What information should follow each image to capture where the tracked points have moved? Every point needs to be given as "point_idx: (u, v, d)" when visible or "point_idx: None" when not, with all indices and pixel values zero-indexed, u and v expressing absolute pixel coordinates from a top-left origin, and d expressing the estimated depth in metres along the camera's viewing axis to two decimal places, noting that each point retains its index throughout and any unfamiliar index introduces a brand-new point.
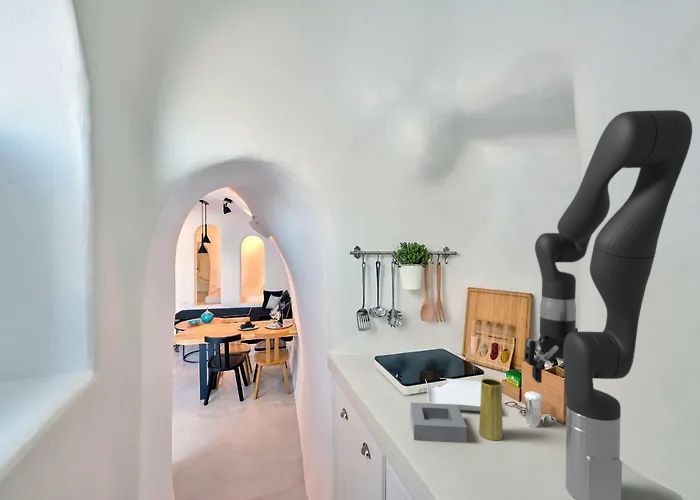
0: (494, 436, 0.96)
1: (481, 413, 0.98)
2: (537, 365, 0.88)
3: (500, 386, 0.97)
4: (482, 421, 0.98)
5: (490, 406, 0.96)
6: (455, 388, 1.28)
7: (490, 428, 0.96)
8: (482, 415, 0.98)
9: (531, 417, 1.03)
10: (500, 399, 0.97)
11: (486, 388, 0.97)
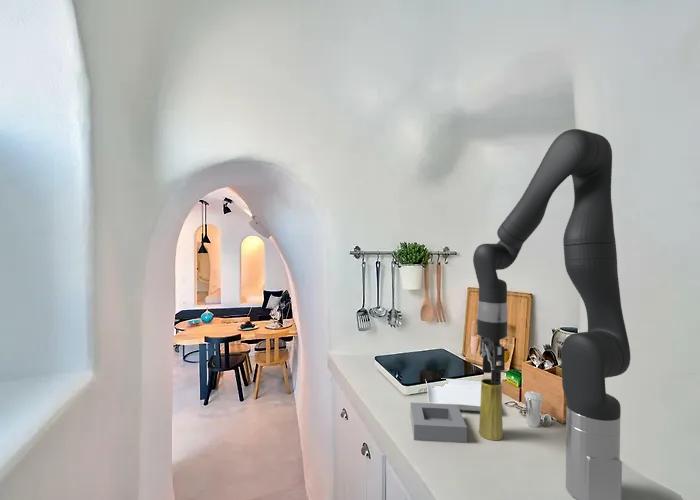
0: (494, 436, 0.96)
1: (481, 413, 0.98)
2: None
3: (500, 386, 0.97)
4: (482, 421, 0.98)
5: (490, 406, 0.96)
6: (455, 388, 1.28)
7: (490, 428, 0.96)
8: (482, 415, 0.98)
9: (531, 417, 1.03)
10: (500, 399, 0.97)
11: (486, 388, 0.97)
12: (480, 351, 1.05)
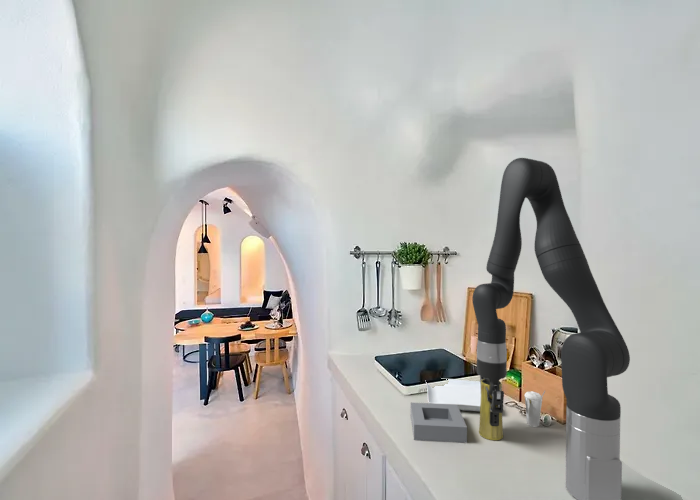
0: (494, 436, 0.96)
1: (481, 413, 0.98)
2: None
3: None
4: (482, 421, 0.98)
5: None
6: (455, 388, 1.28)
7: (490, 428, 0.96)
8: (482, 415, 0.98)
9: (531, 417, 1.03)
10: None
11: None
12: None
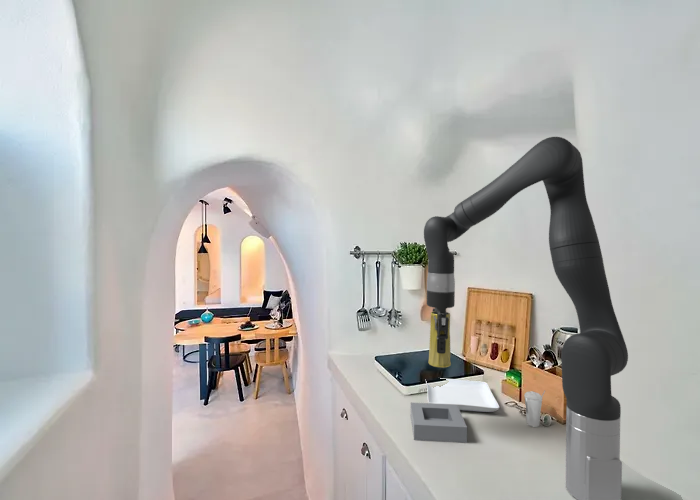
0: (441, 363, 0.99)
1: (430, 343, 1.02)
2: None
3: (448, 316, 1.00)
4: (431, 350, 1.01)
5: None
6: (455, 388, 1.28)
7: (437, 356, 0.99)
8: (431, 344, 1.01)
9: (531, 417, 1.03)
10: (448, 328, 1.00)
11: None
12: None
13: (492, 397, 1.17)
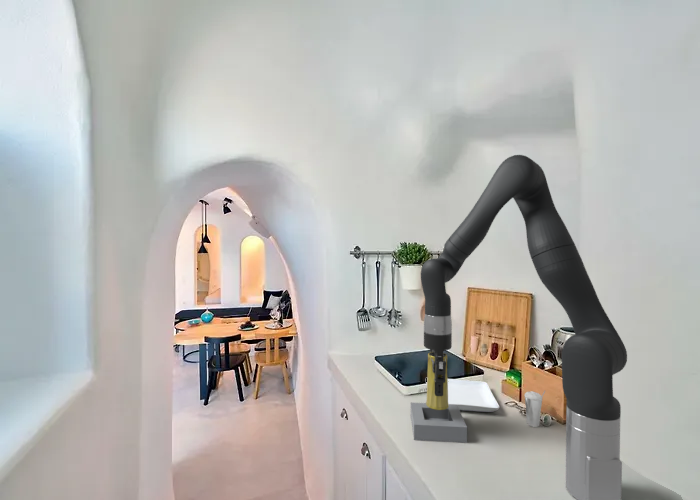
0: (439, 405, 0.99)
1: (428, 384, 1.02)
2: None
3: None
4: (428, 392, 1.01)
5: None
6: (455, 388, 1.28)
7: (435, 398, 0.99)
8: (428, 386, 1.01)
9: (531, 417, 1.03)
10: None
11: None
12: None
13: (492, 397, 1.17)
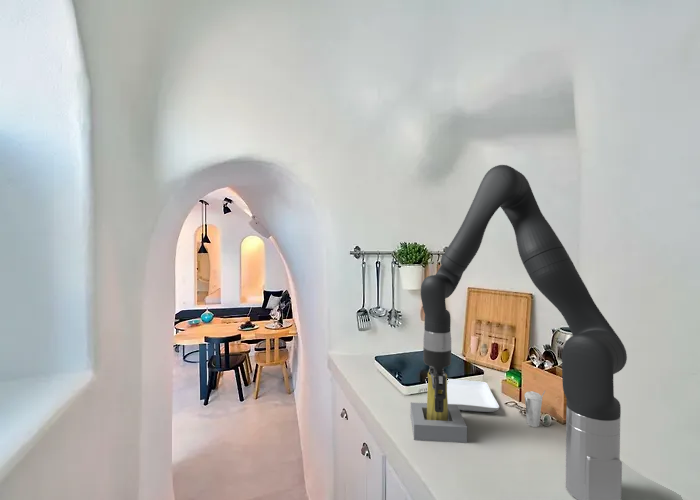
0: None
1: (428, 404, 1.02)
2: None
3: None
4: (428, 411, 1.01)
5: None
6: (455, 388, 1.28)
7: (435, 418, 0.99)
8: (428, 406, 1.01)
9: (531, 417, 1.03)
10: None
11: (431, 379, 1.00)
12: None
13: (492, 397, 1.17)
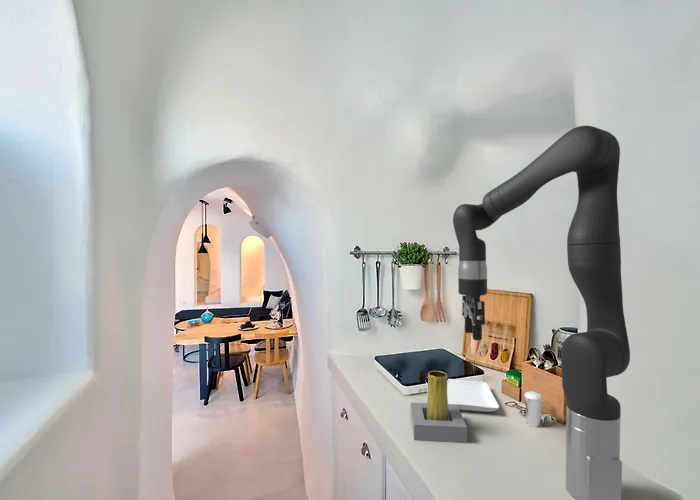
0: None
1: (428, 404, 1.02)
2: None
3: (445, 378, 1.00)
4: (428, 412, 1.01)
5: (435, 397, 0.99)
6: (455, 388, 1.28)
7: (435, 418, 0.99)
8: (428, 406, 1.01)
9: (531, 417, 1.03)
10: (445, 390, 1.00)
11: (432, 379, 1.00)
12: (462, 313, 1.07)
13: (492, 397, 1.17)
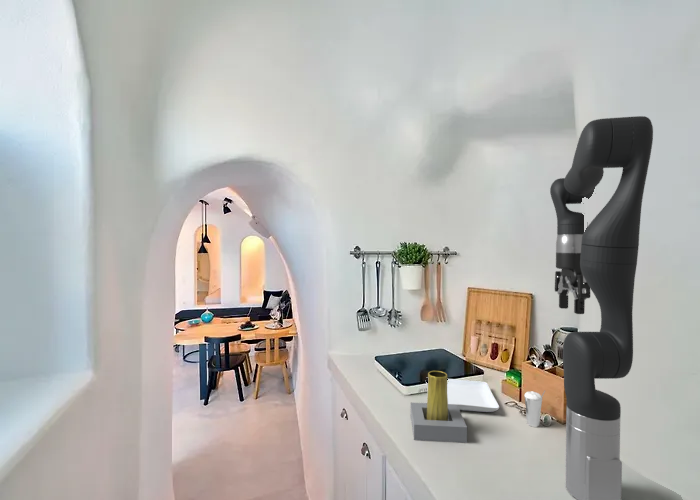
0: None
1: (428, 404, 1.01)
2: None
3: (445, 378, 1.00)
4: (428, 412, 1.01)
5: (435, 397, 0.99)
6: (455, 388, 1.28)
7: (435, 418, 0.99)
8: (428, 406, 1.01)
9: (531, 417, 1.03)
10: (445, 390, 1.00)
11: (432, 379, 1.00)
12: (555, 288, 1.06)
13: (492, 397, 1.17)
